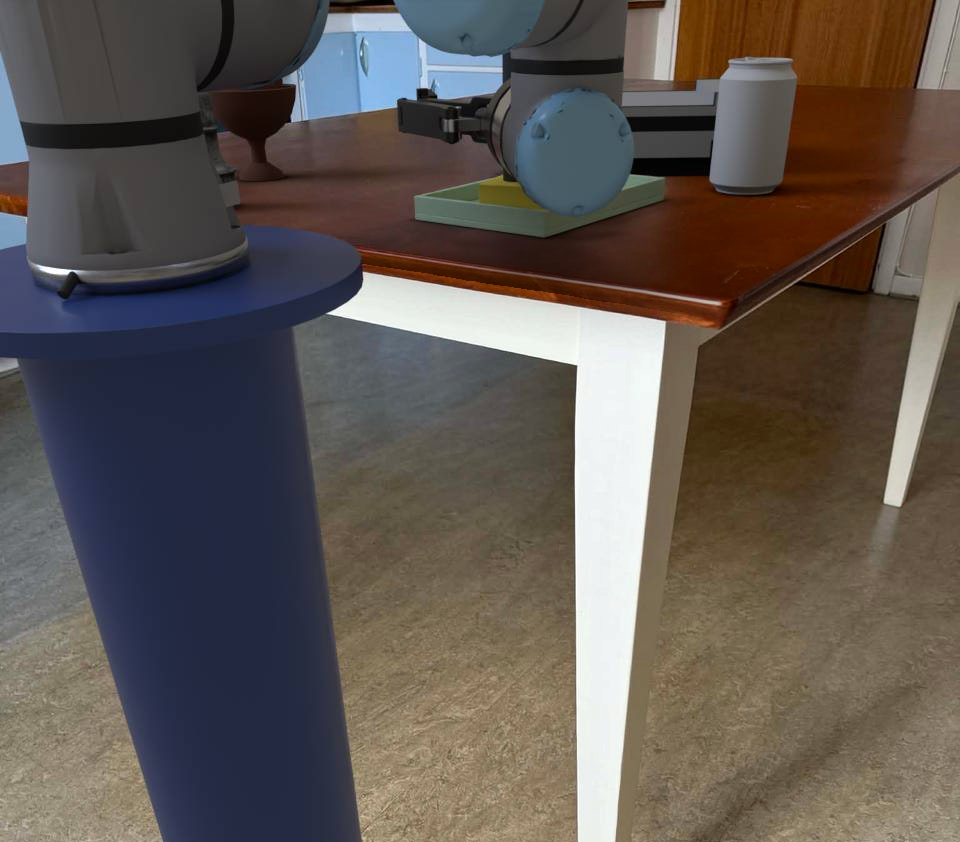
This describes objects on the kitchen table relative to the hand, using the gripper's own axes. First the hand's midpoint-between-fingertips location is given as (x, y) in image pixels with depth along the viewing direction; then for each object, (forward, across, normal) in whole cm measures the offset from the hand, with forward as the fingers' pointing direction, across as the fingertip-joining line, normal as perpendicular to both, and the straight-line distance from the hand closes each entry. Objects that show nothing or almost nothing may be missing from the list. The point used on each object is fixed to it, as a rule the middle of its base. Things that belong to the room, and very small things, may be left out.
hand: (497, 103), depth 90 cm
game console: (+24, +19, -9) cm, 32 cm away
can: (+2, +27, -9) cm, 28 cm away
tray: (-3, +4, -9) cm, 10 cm away
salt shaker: (+7, -29, -10) cm, 31 cm away
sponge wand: (-8, 0, -8) cm, 12 cm away
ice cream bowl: (+26, -25, -10) cm, 37 cm away
